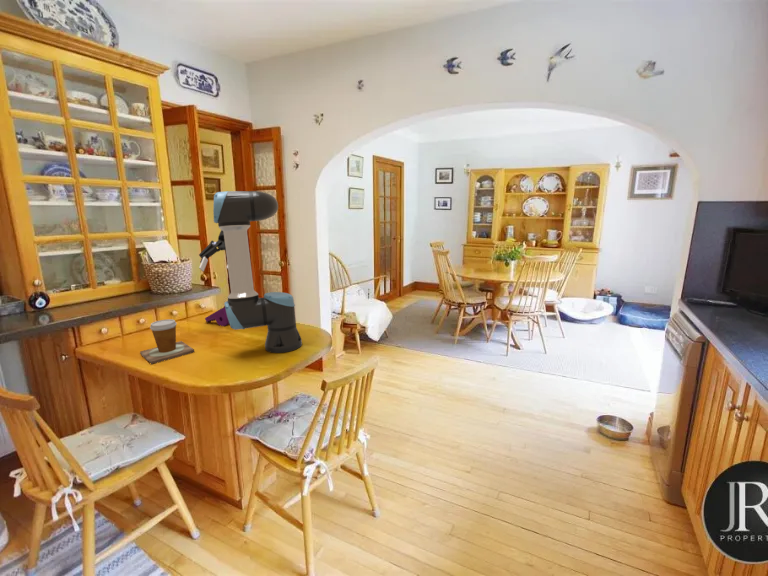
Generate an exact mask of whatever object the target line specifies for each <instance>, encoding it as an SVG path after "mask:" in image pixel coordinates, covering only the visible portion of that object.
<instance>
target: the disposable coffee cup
mask: <svg viewBox="0 0 768 576" xmlns="http://www.w3.org/2000/svg"><path fill="white" fill-rule="evenodd" d="M149 329H150V330H151V332H152V335H153V337H154V342H155V344H156V347H158V350H159V352H161V353H165V352H170V351H173V350H175V349H176V342H177V335H176V334H177V331H176V329H177V322H176V320H175V319H170V318H169V319H161V320H156V321H154V322H151V323H150V327H149Z"/></svg>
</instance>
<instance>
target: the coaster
mask: <svg viewBox="0 0 768 576" xmlns="http://www.w3.org/2000/svg"><path fill="white" fill-rule="evenodd" d="M193 352H194V353H195V349H194V348H192V347H191V346H189V345H188V344H187V343H185V342H184V341H182V340H179V341H176V349H175V350H173V351H170V352H165V353H161V352H159V350H158V347H157V346H156V347H152V348H149V349H145V350H141V351H139V354H140V356H142V357H143V358H144V359H145V360H146V361H147V362H148V361H149V362H150V363H151V364H150V363H149V362H148V363H149V364H150V365H154V364H153V363H155V364H157V362H158V363H161V361H162V362H165V361H168V359H169V360H171V359H175V357H176V358H178V357H183V356H186V355H190V354H192V353H193ZM194 353H193V354H194ZM182 355H183V356H182ZM164 360H165V361H164Z"/></svg>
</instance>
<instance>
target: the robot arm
mask: <svg viewBox="0 0 768 576" xmlns="http://www.w3.org/2000/svg"><path fill="white" fill-rule="evenodd" d="M278 209H279V204H278V200H277V199H276V198H275V196H273V195H272V194H269V193H268V192H264V191H259V190H249V191H248V190H246V191H245V190H244V191H243V190H227V191H217V192H215V193H214V195H213V210H212V211H213V214H212V215H213V223H215V224H217V225H218V226H217V227H218V228H219V229H220V232H219V234H218V237H217V241H214V240H211V241H210V242H209V244H208V245H207V246H206V247H205V248H204V249H203V250H202V251H201V252H200V253H199V254H198V256H199V257H200V258H201V259H200V264H199V267H198V269H199V270H200V271H201V272H205V269H206V267H207V264H208V261H209V260H208V259H209V258H210V257H212V256H213V255H215V254H216V253H218V252H220V251H225V253H226V254H225V256H226V261H227V264H226V269H227V270H228V278H229V279H228V280H229V287H230V293H229V294H228V296H227V301H224V303H223V304H224V308H225V309H226V313H227V317H228V320H229V324H228V325H229V326H230V328H231V329H233V330H245V329H251V328H257V327H258V328H259V327H264V326H267V333H266V339H265V343H264V347H265V350H266V351H267V352H268V353H275V354H278V353H289V352H292V351H295V350H297V349H300V347H302V345H303V342H302V340H303V339H302V336H301V335H300V333H299V331H298V328H297V323H296V322H297V319H296V310H295V309H296V308H295V306H296V304H295V300H294V295H292V294H290V293H287V292H281V291H271V292H265V293H264V295H263V297H259V293H258V292H257V291H256V290H255V289H254V280H253V272H252V271H253V270H252V264H251V263H252V261H251V254H250V246H249V237H248V230H249V228H251V222H260V221H264V220H268V219H270V218H272V217H273V216H274V215H276V214H277V212H278Z"/></svg>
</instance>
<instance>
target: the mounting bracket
mask: <svg viewBox="0 0 768 576" xmlns="http://www.w3.org/2000/svg"><path fill="white" fill-rule="evenodd" d="M204 320H205V321H206V323H209V322H211V321H214V320H215V322H216V323H217V325H218V326H220V325H221V327H225V326H227V325H230V324H229V320H228V317H227V313H226V309H225V307H221V308H220V309H219V310H217V311H215V312H213V313H212V314H210V315H207V316H206V317H205V318H204Z"/></svg>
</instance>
